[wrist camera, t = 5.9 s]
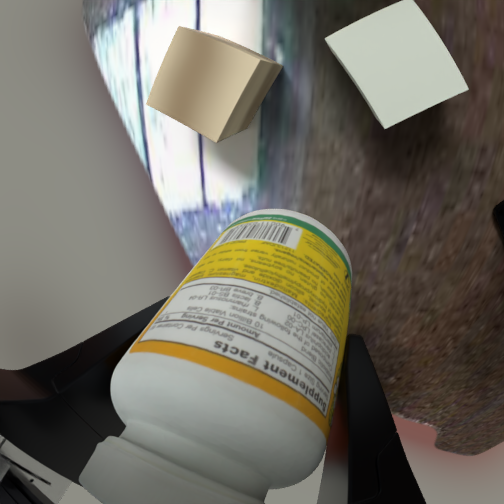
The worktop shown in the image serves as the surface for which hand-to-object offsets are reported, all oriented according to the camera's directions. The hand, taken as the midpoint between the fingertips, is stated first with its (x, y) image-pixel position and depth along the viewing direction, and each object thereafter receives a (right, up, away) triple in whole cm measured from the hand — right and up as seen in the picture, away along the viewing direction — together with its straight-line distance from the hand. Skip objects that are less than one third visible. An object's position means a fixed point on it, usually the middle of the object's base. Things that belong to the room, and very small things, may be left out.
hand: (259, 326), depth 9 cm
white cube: (+8, +13, +5) cm, 16 cm away
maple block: (-2, +14, +8) cm, 16 cm away
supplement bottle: (+1, +2, +3) cm, 3 cm away
